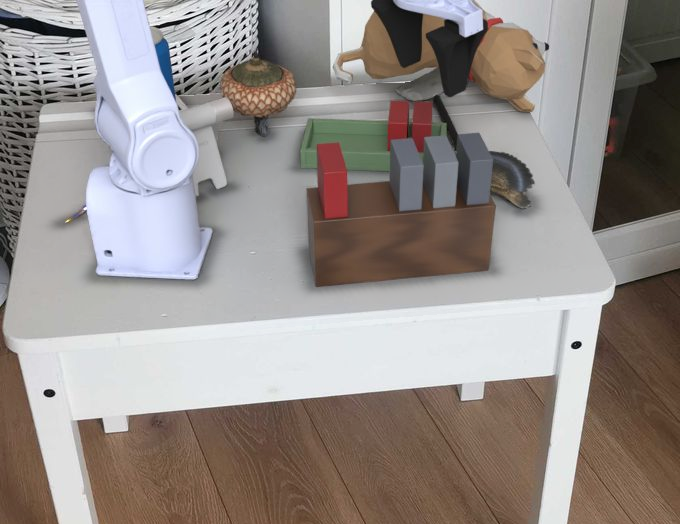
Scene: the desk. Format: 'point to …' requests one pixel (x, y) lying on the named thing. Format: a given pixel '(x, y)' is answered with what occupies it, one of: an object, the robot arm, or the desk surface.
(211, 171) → the tablet stand
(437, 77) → the stone tool
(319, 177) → the red book
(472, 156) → the grey books
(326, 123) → the green book tray
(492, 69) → the toy
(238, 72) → the acorn
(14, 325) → the desk surface
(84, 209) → the pen
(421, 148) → the rack books
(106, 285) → the desk surface
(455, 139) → the pen
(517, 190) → the eagle figurine
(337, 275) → the wood grain box
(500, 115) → the desk surface
